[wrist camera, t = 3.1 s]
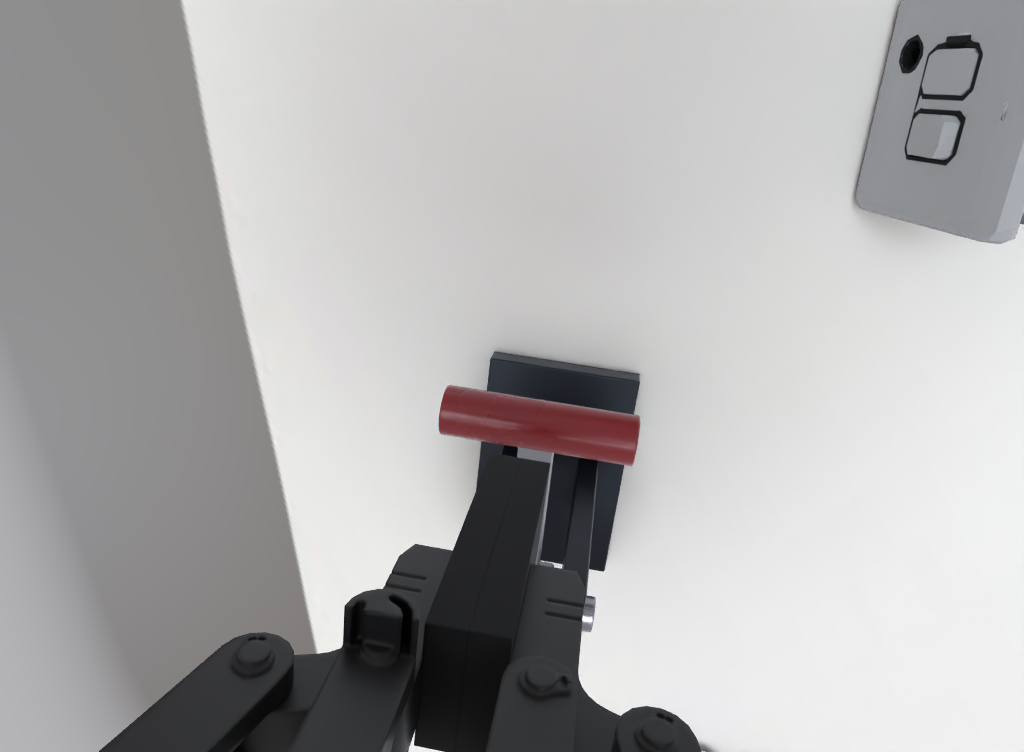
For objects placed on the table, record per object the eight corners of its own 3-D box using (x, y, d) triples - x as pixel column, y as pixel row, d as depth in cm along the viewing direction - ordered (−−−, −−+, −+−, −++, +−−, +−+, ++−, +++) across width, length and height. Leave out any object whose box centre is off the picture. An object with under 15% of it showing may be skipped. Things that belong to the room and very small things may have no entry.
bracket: (494, 351, 41) (426, 477, 28) (639, 373, 41) (644, 515, 27) (473, 536, 46) (406, 725, 32) (604, 560, 45) (593, 764, 31)
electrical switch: (899, -11, 33) (1024, -47, 24) (1019, -2, 33) (1187, -35, 24) (849, 206, 36) (942, 244, 28) (957, 215, 36) (1085, 255, 27)
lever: (453, 365, 24) (434, 420, 22) (642, 395, 23) (637, 454, 22) (457, 579, 33) (443, 630, 31) (592, 605, 33) (586, 657, 31)
